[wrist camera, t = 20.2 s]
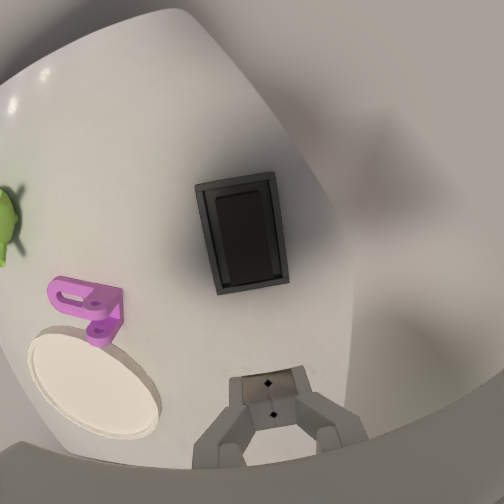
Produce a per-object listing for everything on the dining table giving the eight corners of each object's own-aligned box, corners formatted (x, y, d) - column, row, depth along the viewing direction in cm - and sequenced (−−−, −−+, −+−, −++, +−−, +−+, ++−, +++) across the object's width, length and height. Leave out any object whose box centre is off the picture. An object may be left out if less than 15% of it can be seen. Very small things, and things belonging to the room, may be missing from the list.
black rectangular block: (216, 197, 32) (214, 200, 29) (258, 189, 32) (260, 192, 29) (231, 275, 35) (231, 285, 32) (270, 268, 35) (273, 278, 33)
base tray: (196, 184, 32) (194, 185, 30) (272, 171, 32) (274, 171, 30) (218, 288, 36) (217, 295, 34) (286, 276, 36) (289, 283, 35)
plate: (22, 370, 40) (17, 377, 37) (58, 293, 35) (50, 301, 33) (121, 443, 47) (119, 451, 45) (191, 398, 42) (190, 408, 40)
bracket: (122, 288, 35) (102, 313, 29) (123, 322, 37) (107, 349, 30) (49, 273, 34) (24, 292, 27) (54, 305, 36) (32, 327, 29)
